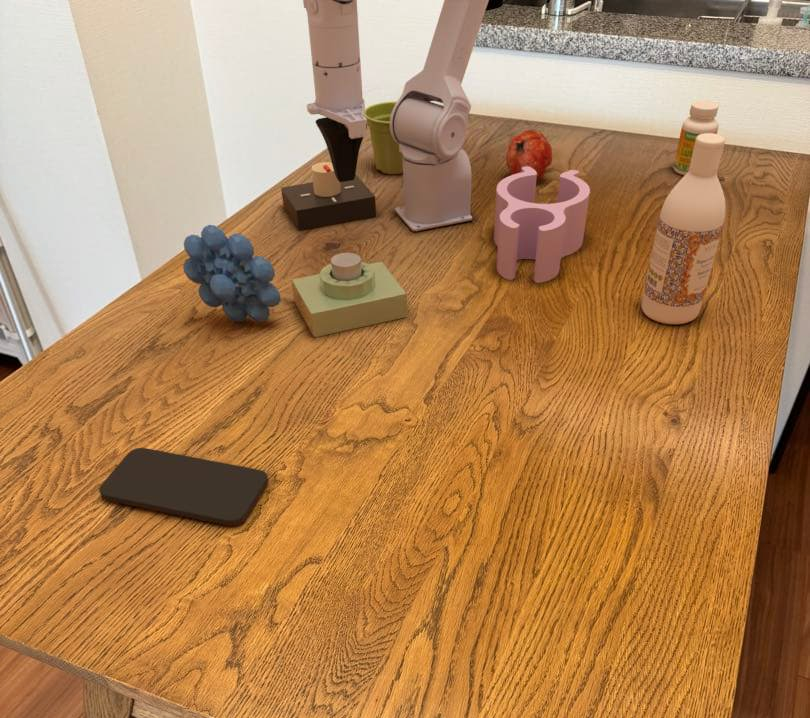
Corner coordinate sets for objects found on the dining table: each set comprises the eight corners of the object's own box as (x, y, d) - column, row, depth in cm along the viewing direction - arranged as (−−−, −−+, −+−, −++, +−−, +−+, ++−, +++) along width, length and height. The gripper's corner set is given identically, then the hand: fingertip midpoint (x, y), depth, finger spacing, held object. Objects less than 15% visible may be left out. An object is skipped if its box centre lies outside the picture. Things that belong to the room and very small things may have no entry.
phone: (238, 523, 70) (93, 493, 74) (240, 530, 71) (96, 499, 74) (271, 471, 75) (134, 445, 78) (272, 477, 76) (136, 451, 79)
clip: (571, 286, 101) (578, 233, 96) (476, 276, 103) (478, 224, 98) (588, 220, 114) (595, 171, 109) (504, 213, 116) (507, 164, 111)
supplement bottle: (671, 175, 124) (685, 109, 117) (673, 163, 128) (687, 97, 121) (706, 178, 123) (723, 111, 116) (708, 165, 127) (724, 99, 120)
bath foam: (670, 332, 92) (714, 155, 78) (628, 308, 96) (662, 135, 82) (711, 314, 95) (760, 139, 80) (668, 292, 99) (707, 121, 85)
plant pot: (425, 157, 133) (424, 101, 126) (420, 179, 126) (419, 121, 120) (370, 157, 133) (367, 101, 127) (363, 179, 127) (359, 121, 121)
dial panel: (357, 194, 123) (356, 173, 120) (376, 216, 117) (375, 195, 115) (283, 207, 120) (280, 186, 118) (299, 231, 114) (296, 209, 112)
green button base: (383, 284, 102) (381, 247, 99) (407, 317, 96) (406, 279, 93) (294, 302, 100) (289, 265, 96) (314, 337, 94) (309, 299, 90)
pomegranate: (518, 181, 130) (484, 155, 122) (545, 139, 127) (512, 110, 120) (546, 200, 126) (513, 175, 119) (574, 158, 123) (542, 129, 116)
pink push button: (356, 266, 96) (355, 250, 95) (365, 279, 94) (364, 263, 92) (328, 271, 95) (327, 255, 94) (337, 285, 93) (335, 268, 92)
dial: (310, 188, 117) (307, 162, 114) (336, 184, 118) (333, 158, 115) (318, 198, 114) (315, 172, 112) (344, 194, 115) (342, 167, 113)
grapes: (182, 335, 95) (156, 239, 86) (203, 307, 99) (181, 213, 91) (272, 344, 93) (256, 247, 84) (290, 315, 97) (276, 220, 89)
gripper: (287, 49, 96) (301, 164, 106) (320, 82, 86) (332, 205, 96) (342, 42, 98) (350, 156, 107) (380, 74, 88) (386, 196, 98)
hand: (345, 179), depth 102 cm, fingers closed
